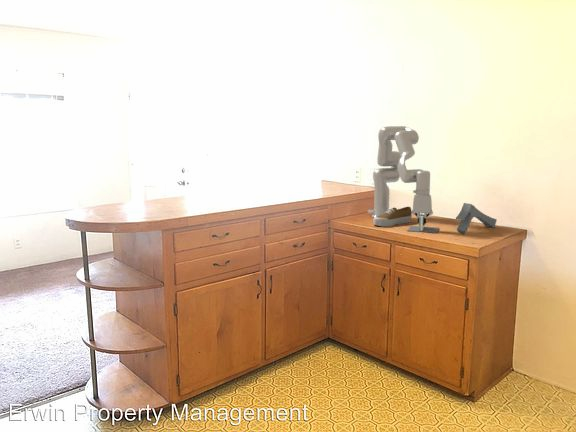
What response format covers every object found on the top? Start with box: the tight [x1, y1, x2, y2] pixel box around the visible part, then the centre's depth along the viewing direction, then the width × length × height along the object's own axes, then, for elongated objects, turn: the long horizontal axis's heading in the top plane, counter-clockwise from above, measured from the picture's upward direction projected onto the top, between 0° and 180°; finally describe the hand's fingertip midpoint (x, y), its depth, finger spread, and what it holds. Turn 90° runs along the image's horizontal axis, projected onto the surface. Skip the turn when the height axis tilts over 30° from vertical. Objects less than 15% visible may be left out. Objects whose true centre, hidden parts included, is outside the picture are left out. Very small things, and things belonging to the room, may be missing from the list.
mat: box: [407, 225, 439, 234], centre depth 280 cm, size 16×13×1 cm
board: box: [418, 213, 425, 231], centre depth 279 cm, size 2×12×8 cm, turn 159°
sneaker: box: [372, 206, 413, 228], centre depth 297 cm, size 10×29×10 cm, turn 121°
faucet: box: [455, 202, 497, 235], centre depth 275 cm, size 6×17×30 cm
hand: (421, 224), depth 279 cm, fingers closed on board, 1 cm apart
